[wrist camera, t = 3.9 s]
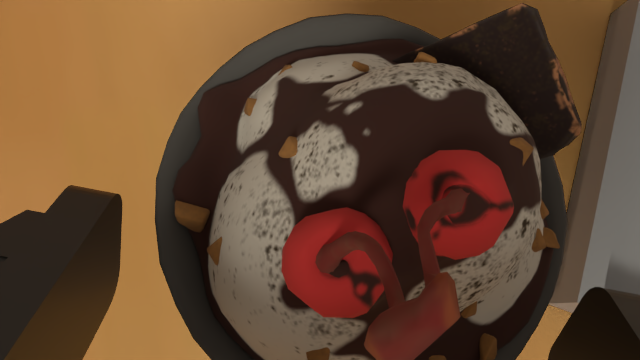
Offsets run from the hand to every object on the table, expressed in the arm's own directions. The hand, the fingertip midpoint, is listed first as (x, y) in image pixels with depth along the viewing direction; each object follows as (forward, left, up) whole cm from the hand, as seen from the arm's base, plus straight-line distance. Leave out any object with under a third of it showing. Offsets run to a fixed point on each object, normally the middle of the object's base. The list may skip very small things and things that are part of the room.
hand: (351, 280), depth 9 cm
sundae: (0, +1, -9) cm, 9 cm away
